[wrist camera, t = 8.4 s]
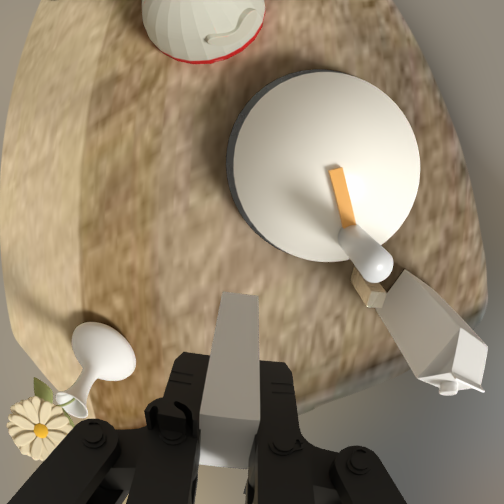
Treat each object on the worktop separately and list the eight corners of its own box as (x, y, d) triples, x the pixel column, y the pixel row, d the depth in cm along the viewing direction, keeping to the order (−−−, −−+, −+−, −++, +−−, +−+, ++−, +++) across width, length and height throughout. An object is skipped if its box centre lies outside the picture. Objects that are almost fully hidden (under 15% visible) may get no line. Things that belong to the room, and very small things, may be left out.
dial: (210, 106, 30) (189, 91, 20) (382, 64, 28) (429, 41, 17) (267, 272, 37) (271, 325, 26) (419, 225, 34) (469, 258, 24)
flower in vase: (149, 372, 46) (101, 503, 22) (93, 372, 46) (35, 482, 23) (119, 303, 41) (32, 437, 18) (62, 309, 42) (-27, 416, 18)
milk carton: (403, 267, 39) (480, 350, 21) (433, 289, 40) (505, 367, 22) (374, 308, 41) (430, 404, 23) (405, 326, 42) (462, 414, 24)
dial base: (240, 59, 30) (237, 41, 23) (417, 99, 31) (447, 94, 24) (216, 264, 39) (208, 290, 32) (379, 283, 40) (399, 309, 33)
